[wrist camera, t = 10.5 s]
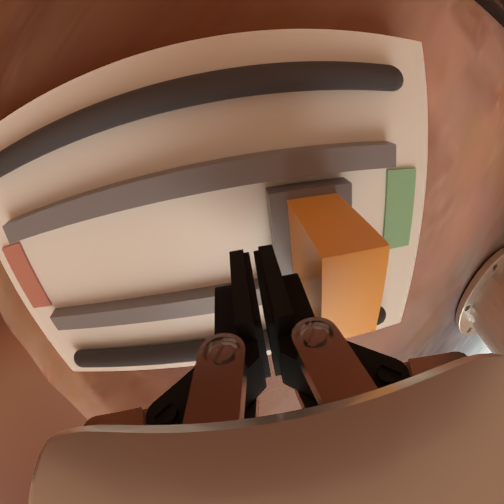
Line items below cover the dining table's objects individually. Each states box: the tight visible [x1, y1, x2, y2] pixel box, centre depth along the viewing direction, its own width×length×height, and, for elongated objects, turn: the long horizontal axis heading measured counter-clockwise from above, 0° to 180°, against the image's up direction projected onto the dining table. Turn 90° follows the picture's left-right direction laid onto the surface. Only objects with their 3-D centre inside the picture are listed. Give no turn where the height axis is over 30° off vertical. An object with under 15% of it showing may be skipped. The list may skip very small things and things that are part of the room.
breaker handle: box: [265, 177, 390, 338], centre depth 12 cm, size 4×5×6 cm
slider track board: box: [0, 29, 428, 371], centre depth 16 cm, size 28×20×4 cm
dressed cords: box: [0, 61, 404, 368], centre depth 14 cm, size 23×16×1 cm
